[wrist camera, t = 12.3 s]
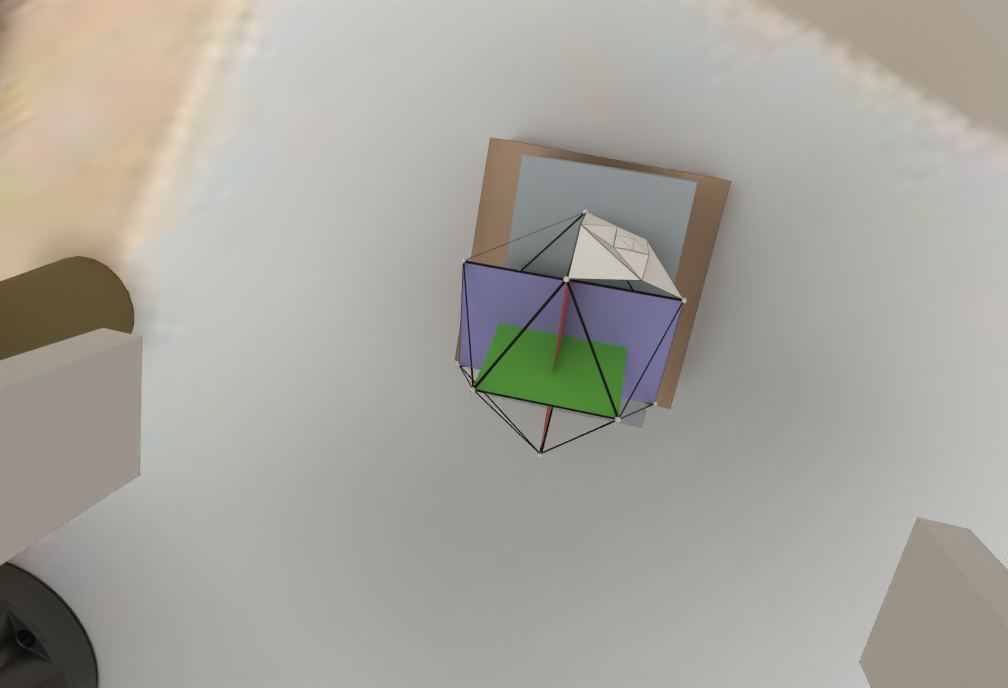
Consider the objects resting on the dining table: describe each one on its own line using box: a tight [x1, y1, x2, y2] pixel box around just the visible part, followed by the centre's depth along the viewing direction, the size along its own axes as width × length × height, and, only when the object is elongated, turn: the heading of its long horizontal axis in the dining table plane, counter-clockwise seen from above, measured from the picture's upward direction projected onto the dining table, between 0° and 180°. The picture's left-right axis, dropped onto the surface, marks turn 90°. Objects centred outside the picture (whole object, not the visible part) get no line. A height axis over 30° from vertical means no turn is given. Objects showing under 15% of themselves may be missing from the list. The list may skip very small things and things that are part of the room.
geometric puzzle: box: [457, 209, 687, 457], centre depth 21 cm, size 7×7×8 cm
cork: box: [0, 256, 134, 360], centre depth 34 cm, size 6×6×11 cm
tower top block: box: [487, 155, 697, 427], centre depth 26 cm, size 6×9×5 cm, turn 171°
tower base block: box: [455, 138, 731, 409], centre depth 31 cm, size 10×10×5 cm
